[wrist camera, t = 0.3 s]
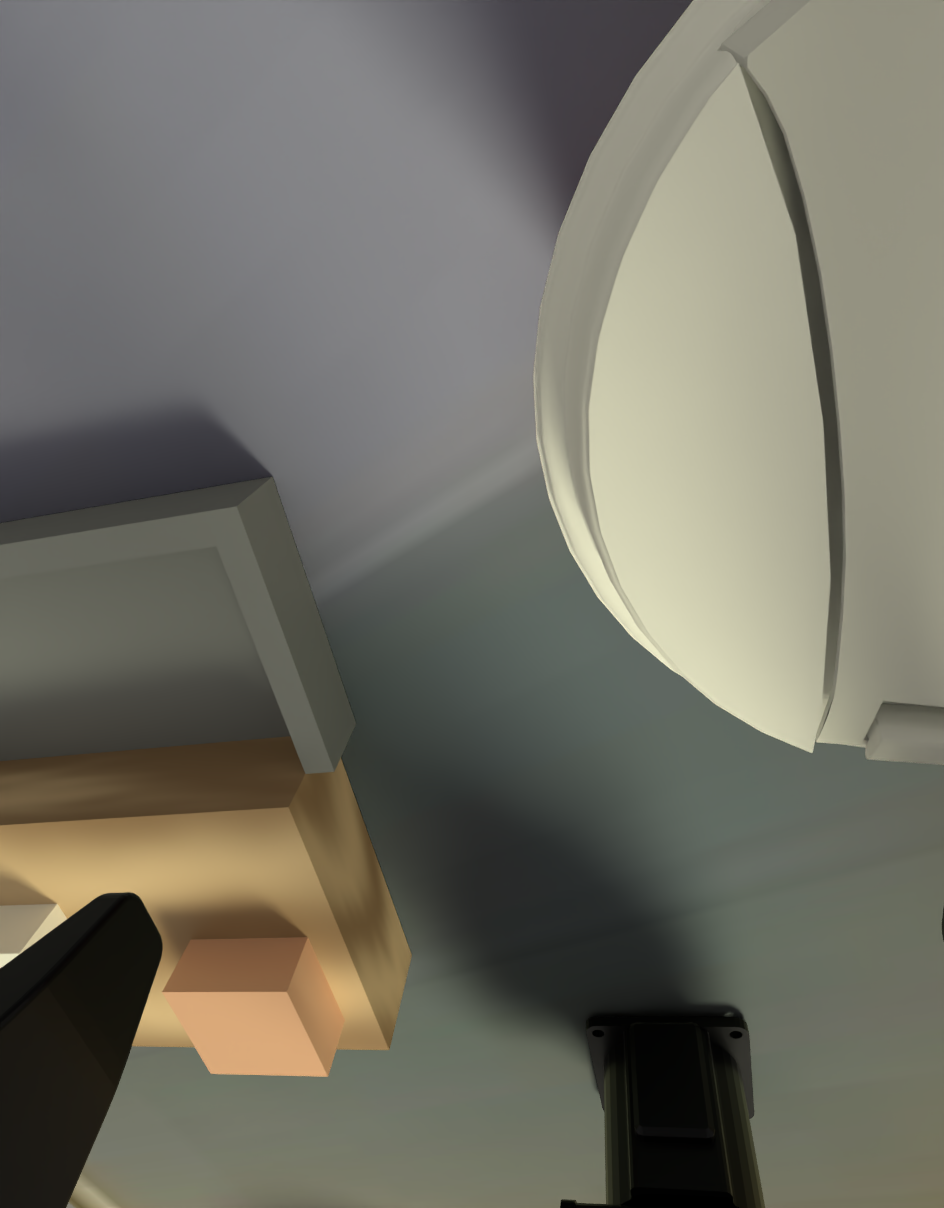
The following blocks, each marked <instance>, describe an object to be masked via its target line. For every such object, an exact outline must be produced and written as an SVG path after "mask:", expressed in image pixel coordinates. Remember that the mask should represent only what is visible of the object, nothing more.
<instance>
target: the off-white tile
mask: <svg viewBox="0 0 944 1208" xmlns="http://www.w3.org/2000/svg"><path fill="white" fill-rule="evenodd" d="M65 920H67V918H66V916H65V915H64V913H63V912H62V910H61V909H60V907H59V905H58V904H35V905H5V906H0V968H1V967H3V966H4V965H6V964H7V963H8V962H10V961H11V960H12V959H14V958H15V957H16V956H18V955H19V954H20V953H22V952H23V951H25V950H26V949H27V948H29V947H30V946H31V945H33V944H34V943H35V942H37V941H38V940H39V939H41V938H42V937H43V936H45V935H46V934H48V933H49V932H50V931H52V930H53V929H54V928H56V927H57V926H58V925H60V924H61V923H62V922H64V921H65Z"/></svg>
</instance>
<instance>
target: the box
mask: <svg viewBox="0 0 944 1208" xmlns="http://www.w3.org/2000/svg"><path fill="white" fill-rule="evenodd" d="M355 725H356V722H355V719H354V716H353V713H352V710H351V707H350V704H349V701H348V698H347V695H346V692H345V689H344V686H343V683H342V680H341V677H340V674H339V671H338V669H337V666H336V663H335V660H334V657H333V654H332V651H331V648H330V645H329V642H328V639H327V636H326V633H325V630H324V627H323V624H322V621H321V618H320V615H319V612H318V610H317V607H316V604H315V601H314V598H313V595H312V592H311V589H310V586H309V583H308V580H307V577H306V574H305V571H304V568H303V565H302V562H301V559H300V556H299V553H298V550H297V548H296V545H295V542H294V539H293V536H292V533H291V530H290V527H289V524H288V521H287V518H286V515H285V512H284V509H283V506H282V503H281V500H280V497H279V494H278V491H277V489H276V486H275V483H274V480H273V477H267V478H262V479H256V480H250V481H244V482H238V483H232V484H226V485H221V486H215V487H209V488H203V489H197V490H191V491H185V492H180V493H174V494H168V495H162V496H156V497H150V498H144V499H139V500H133V501H127V502H121V503H115V504H109V505H103V506H98V507H92V508H86V509H80V510H74V511H68V512H62V513H57V514H51V515H45V516H39V517H33V518H27V519H21V520H16V521H10V522H4V523H0V761H8V760H20V759H31V758H43V757H55V756H66V755H78V754H90V753H101V752H113V751H125V750H136V749H148V748H160V747H171V746H183V745H195V744H206V743H218V742H230V741H241V740H253V739H265V738H276V737H288V736H291V739H292V741H293V744H294V746H295V749H296V751H297V754H298V756H299V759H300V762H301V764H302V767H303V769H304V772H305V774H312V773H326V772H335V769H336V767H337V765H338V763H339V761H340V758H341V756H342V754H343V752H344V750H345V747H346V745H347V743H348V741H349V739H350V736H351V734H352V732H353V730H354V728H355Z"/></svg>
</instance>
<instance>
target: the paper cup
mask: <svg viewBox="0 0 944 1208" xmlns="http://www.w3.org/2000/svg"><path fill="white" fill-rule="evenodd" d="M533 384H534V402H535V421H536V439H537V445H538V450H539V454H540V459H541V464H542V468H543V473H544V478H545V482H546V487H547V491H548V496H549V500H550V502H551V505H552V508H553V510H554V513H555V515H556V518H557V520H558V523H559V525H560V528H561V530H562V533H563V535H564V538H565V540H566V543H567V545H568V548H569V550H570V552H571V554H572V556H573V557H574V559H575V561H576V562H577V564H578V566H579V567H580V569H581V570H582V572H583V574H584V575H585V577H586V579H587V580H588V582H589V584H590V585H591V587H592V589H593V590H594V592H595V594H596V595H597V597H598V598H599V599H600V600H601V602H602V603H603V604H604V605H605V606H606V607H607V609H608V610H609V611H610V612H611V613H612V614H613V616H614V617H615V618H616V619H617V620H618V621H619V623H620V624H621V625H622V626H623V627H624V628H625V630H626V631H627V632H628V633H629V634H630V635H631V636H632V637H633V638H634V639H635V640H636V641H637V642H639V643H640V644H641V645H642V646H643V647H645V648H646V649H647V650H648V651H649V652H651V653H652V654H653V655H654V656H655V657H656V658H658V659H659V660H660V661H661V662H662V663H664V664H665V665H666V666H667V667H668V668H670V669H671V670H672V671H674V672H676V673H677V674H679V675H681V676H682V677H684V678H685V679H686V680H687V681H688V682H689V683H691V684H692V685H693V686H694V687H695V688H697V689H698V690H699V691H700V692H701V693H703V694H704V695H705V696H706V697H707V698H708V699H710V700H711V701H712V702H713V703H714V704H716V705H717V706H719V707H721V708H722V709H724V710H726V711H727V712H729V713H731V714H732V715H734V716H736V717H737V718H739V719H741V720H742V721H744V722H746V723H747V724H749V725H751V726H752V727H754V728H756V729H757V730H759V731H761V732H763V733H765V734H767V735H770V736H772V737H775V738H777V739H779V740H782V741H784V742H786V743H789V744H791V745H794V746H796V747H798V748H801V749H803V750H806V751H808V752H810V753H813V748H814V743H815V738H816V742H820V743H834V744H846V745H850V746H858V747H865V748H866V751H865V756H866V758H867V759H871V760H885V761H898V762H911V763H925V764H938V765H944V0H693V1H692V2H691V4H690V5H689V6H688V8H687V9H686V10H685V12H684V13H683V14H682V16H681V17H680V18H679V20H678V21H677V22H676V23H675V25H674V26H673V27H672V29H671V30H670V31H669V33H668V34H667V35H666V37H665V38H664V39H663V40H662V42H661V43H660V44H659V46H658V47H657V48H656V50H655V51H654V52H653V54H652V55H651V56H650V57H649V59H648V60H647V61H646V63H645V64H644V65H643V67H642V68H641V69H640V71H639V72H638V73H637V74H636V76H635V78H634V79H633V81H632V83H631V85H630V86H629V88H628V90H627V92H626V93H625V95H624V97H623V99H622V100H621V102H620V104H619V106H618V107H617V109H616V111H615V113H614V114H613V116H612V118H611V120H610V121H609V123H608V125H607V127H606V128H605V130H604V132H603V134H602V135H601V137H600V139H599V141H598V142H597V144H596V146H595V148H594V149H593V151H592V153H591V155H590V157H589V159H588V162H587V164H586V167H585V169H584V172H583V174H582V176H581V179H580V181H579V184H578V186H577V189H576V191H575V194H574V196H573V199H572V201H571V204H570V206H569V209H568V211H567V213H566V216H565V218H564V221H563V223H562V226H561V228H560V231H559V233H558V237H557V241H556V245H555V249H554V253H553V257H552V261H551V265H550V269H549V273H548V277H547V281H546V285H545V289H544V293H543V297H542V301H541V305H540V313H539V323H538V333H537V343H536V353H535V363H534V373H533Z"/></svg>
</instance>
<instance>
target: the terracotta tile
mask: <svg viewBox="0 0 944 1208" xmlns="http://www.w3.org/2000/svg"><path fill="white" fill-rule="evenodd" d="M162 993H163V995H164V997H165V998H166V1000H167V1002H168V1003H169V1005H170V1007H171V1008H172V1010H173V1011H174V1013H175V1015H176V1016H177V1018H178V1020H179V1021H180V1023H181V1025H182V1026H183V1028H184V1030H185V1031H186V1033H187V1035H188V1036H189V1038H190V1040H191V1041H192V1043H193V1045H194V1046H195V1048H196V1050H197V1051H198V1053H199V1055H200V1056H201V1058H202V1060H203V1061H204V1063H205V1065H206V1066H207V1068H208V1070H209V1071H210V1073H211V1074H242V1075H283V1076H325V1077H328V1075H329V1072H330V1068H331V1065H332V1062H333V1058H334V1055H335V1052H336V1048H337V1045H338V1042H339V1038H340V1035H341V1032H342V1028H343V1025H344V1022H345V1019H344V1017H343V1015H342V1013H341V1010H340V1008H339V1006H338V1004H337V1001H336V999H335V997H334V995H333V992H332V990H331V988H330V986H329V983H328V981H327V979H326V977H325V974H324V972H323V970H322V968H321V965H320V963H319V961H318V959H317V956H316V954H315V952H314V950H313V947H312V945H311V943H310V941H309V938H308V937H291V938H243V939H194V940H190V942H189V944H188V945H187V947H186V949H185V951H184V953H183V955H182V956H181V958H180V960H179V962H178V964H177V965H176V967H175V969H174V971H173V973H172V975H171V976H170V978H169V980H168V982H167V984H166V986H165V987H164V989H163V991H162Z"/></svg>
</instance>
